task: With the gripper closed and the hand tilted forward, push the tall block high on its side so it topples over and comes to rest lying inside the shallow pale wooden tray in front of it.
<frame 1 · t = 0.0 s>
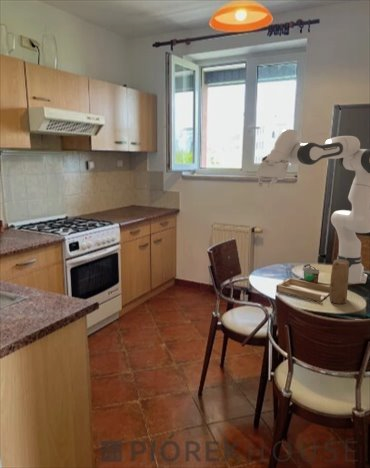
hand: (264, 186, 170), 54 cm above the table, tool tilted 30°, fingers open, 8 cm apart
food container: (308, 284, 193), on the table
wooden tray: (303, 292, 181), on the table
block: (338, 301, 169), on the table
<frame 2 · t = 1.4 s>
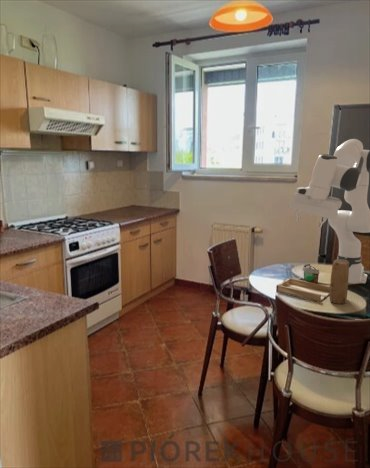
hand: (308, 223, 154), 39 cm above the table, tool pointing down, fingers open, 8 cm apart
nothing on the table moved.
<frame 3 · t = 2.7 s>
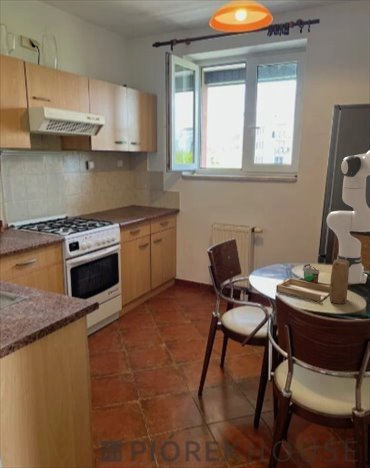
nothing on the table moved.
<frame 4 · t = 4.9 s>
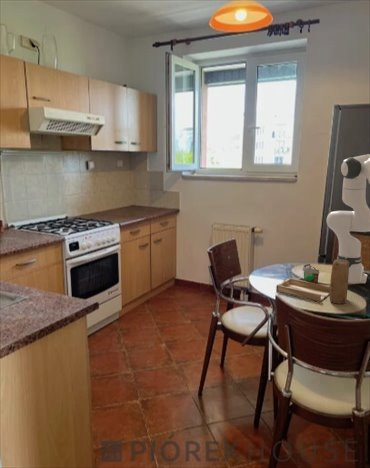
nothing on the table moved.
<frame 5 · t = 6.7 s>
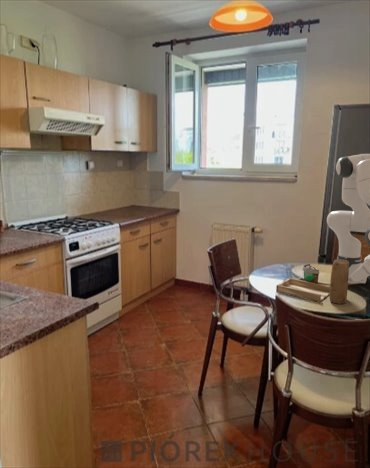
hand: (350, 280, 164), 11 cm above the table, tool tilted 45°, fingers closed
block: (338, 301, 169), on the table, touching gripper
everything else where it was.
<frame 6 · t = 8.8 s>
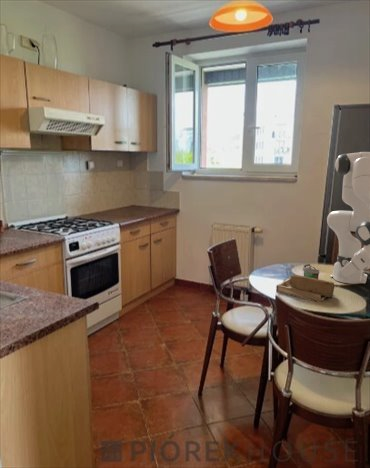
hand: (340, 275, 167), 13 cm above the table, tool tilted 45°, fingers closed
block: (333, 290, 171), point 4 cm above the table, touching wooden tray
everything else where it was.
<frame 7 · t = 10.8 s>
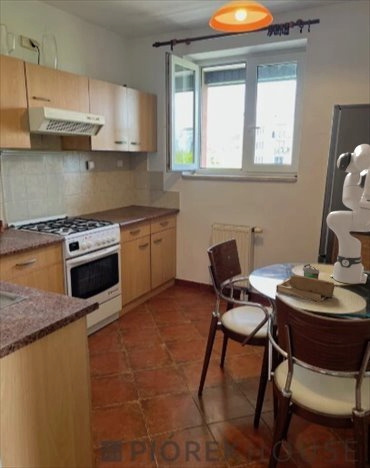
hand: (366, 230, 160), 34 cm above the table, tool pointing down, fingers closed
nothing on the table moved.
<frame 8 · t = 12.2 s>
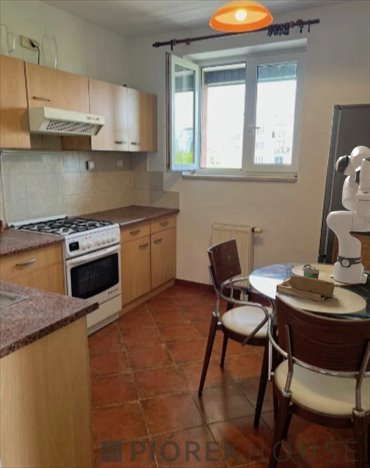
hand: (366, 225, 160), 37 cm above the table, tool pointing down, fingers closed
nothing on the table moved.
at the end: block tilted 86°; block inside the target area (12.2 cm from its centre), point 4.4 cm above the table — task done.
